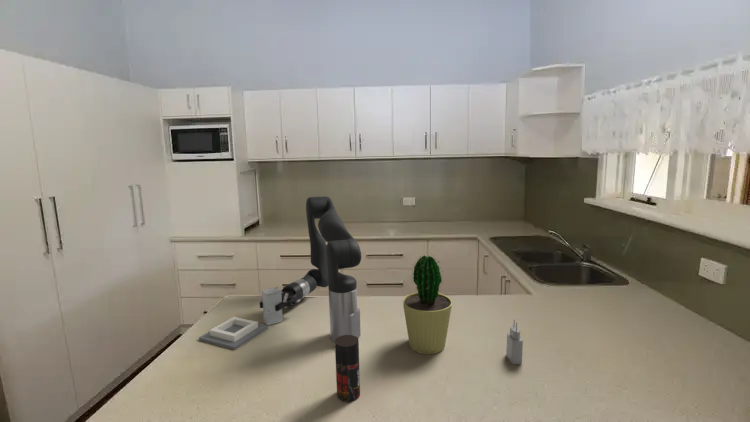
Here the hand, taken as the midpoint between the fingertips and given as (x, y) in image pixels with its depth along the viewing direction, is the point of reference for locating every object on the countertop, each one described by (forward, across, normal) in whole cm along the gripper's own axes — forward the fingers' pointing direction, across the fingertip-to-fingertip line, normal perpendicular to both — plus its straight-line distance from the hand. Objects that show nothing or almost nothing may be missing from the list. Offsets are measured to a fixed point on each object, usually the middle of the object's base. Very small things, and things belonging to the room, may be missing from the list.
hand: (268, 307), depth 139 cm
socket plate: (+11, -6, +6) cm, 14 cm away
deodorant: (+24, +46, +7) cm, 52 cm away
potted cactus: (-8, +57, +7) cm, 58 cm away
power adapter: (-10, +83, +7) cm, 84 cm away
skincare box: (-2, 0, +7) cm, 7 cm away
